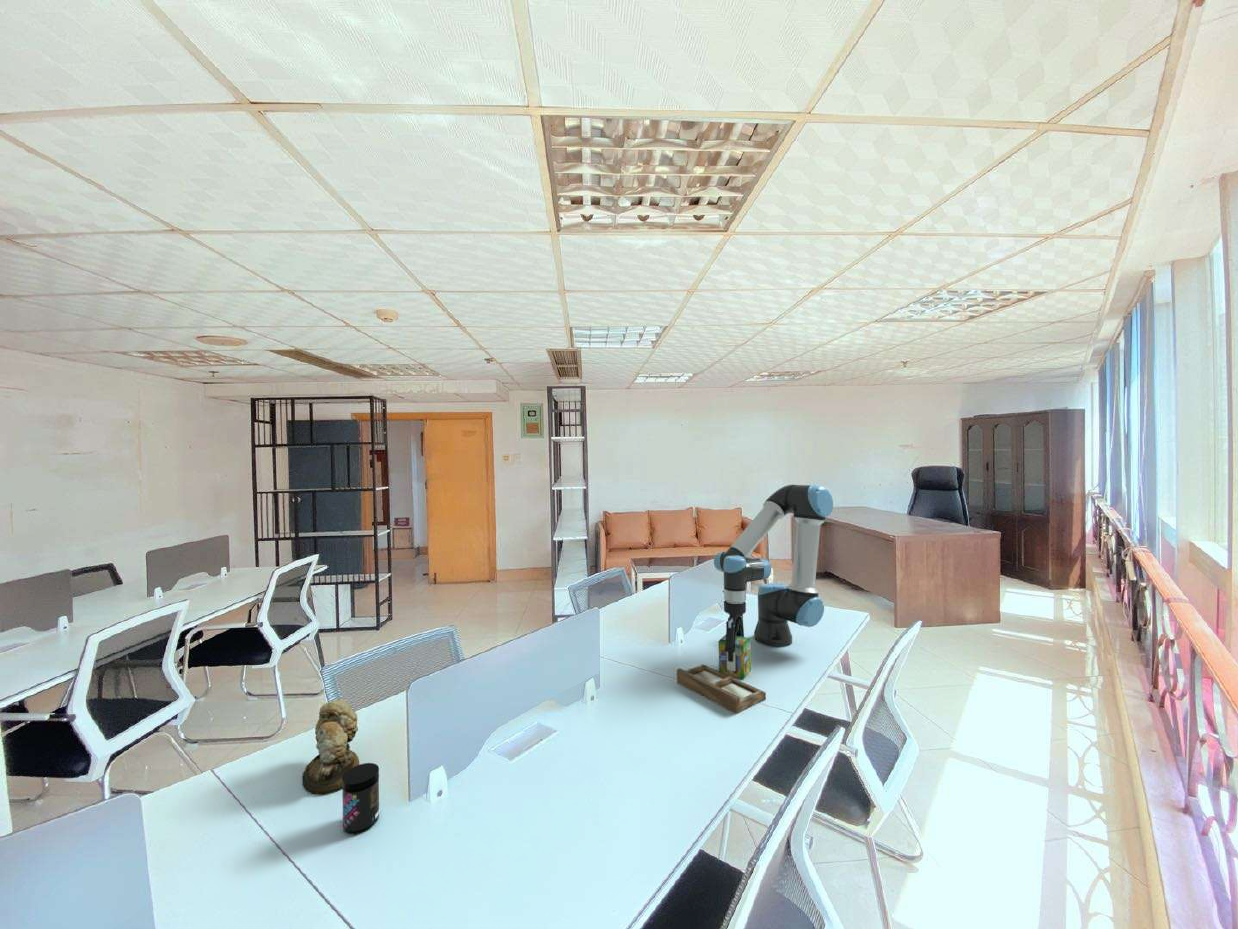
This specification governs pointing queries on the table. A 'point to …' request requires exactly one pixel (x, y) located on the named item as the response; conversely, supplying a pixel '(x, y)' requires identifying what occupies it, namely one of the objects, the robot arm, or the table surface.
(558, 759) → the table surface
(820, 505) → the robot arm
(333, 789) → the tan statuette
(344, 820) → the supplement container
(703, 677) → the brown wooden tray
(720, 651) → the chalk box
